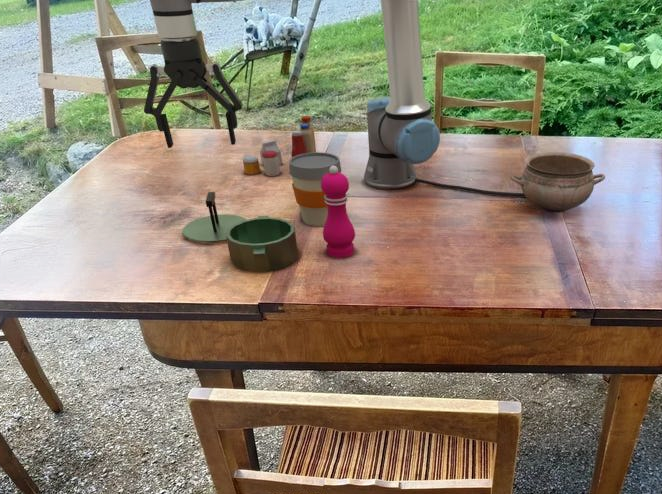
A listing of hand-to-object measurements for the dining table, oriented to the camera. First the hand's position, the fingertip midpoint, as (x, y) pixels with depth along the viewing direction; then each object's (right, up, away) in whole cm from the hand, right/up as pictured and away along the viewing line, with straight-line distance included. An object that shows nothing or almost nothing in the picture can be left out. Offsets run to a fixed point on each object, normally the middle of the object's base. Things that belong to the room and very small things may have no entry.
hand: (202, 144), depth 135 cm
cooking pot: (+84, -8, +27) cm, 89 cm away
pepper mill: (+30, -24, +4) cm, 39 cm away
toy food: (+7, +12, +52) cm, 54 cm away
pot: (+14, -25, +1) cm, 29 cm away
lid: (-1, -16, +12) cm, 20 cm away
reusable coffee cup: (+23, -12, +19) cm, 32 cm away
